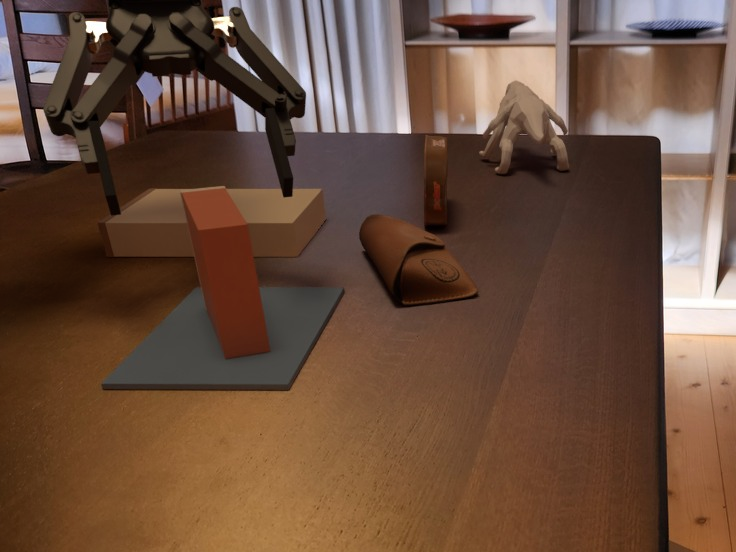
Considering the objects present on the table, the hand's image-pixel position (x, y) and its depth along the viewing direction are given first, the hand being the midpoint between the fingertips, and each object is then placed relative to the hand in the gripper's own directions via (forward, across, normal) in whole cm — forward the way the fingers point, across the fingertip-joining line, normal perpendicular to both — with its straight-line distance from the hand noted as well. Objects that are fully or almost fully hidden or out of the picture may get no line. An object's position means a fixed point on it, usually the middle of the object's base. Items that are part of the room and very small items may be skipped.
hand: (203, 197), depth 71 cm
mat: (+10, 0, -5) cm, 11 cm away
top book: (+10, 0, -4) cm, 11 cm away
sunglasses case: (+4, -19, -11) cm, 22 cm away
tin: (-9, -27, -24) cm, 37 cm away
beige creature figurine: (-22, -47, -37) cm, 64 cm away
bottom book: (-11, -3, -26) cm, 28 cm away
